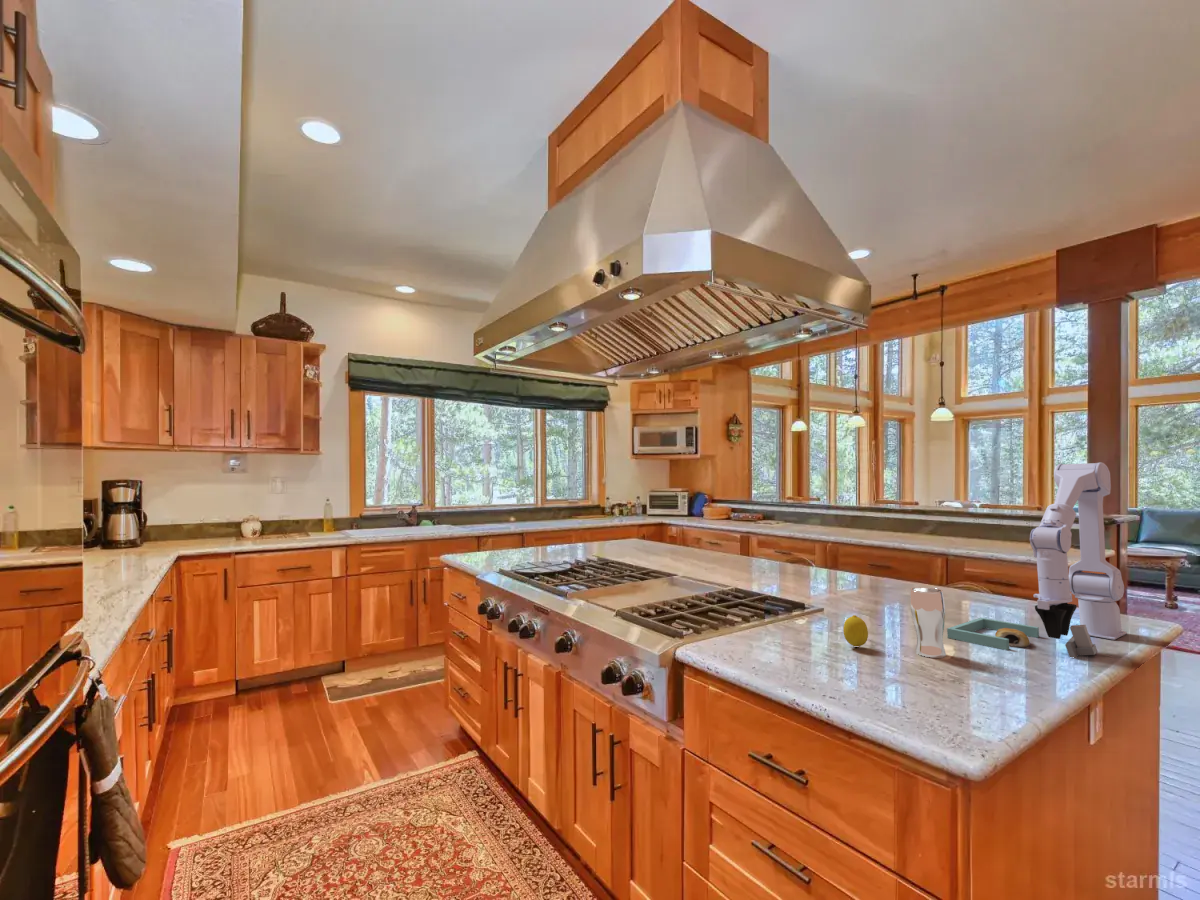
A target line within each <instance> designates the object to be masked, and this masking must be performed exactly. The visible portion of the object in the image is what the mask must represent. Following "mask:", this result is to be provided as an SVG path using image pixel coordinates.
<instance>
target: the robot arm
mask: <svg viewBox="0 0 1200 900" xmlns="http://www.w3.org/2000/svg"><path fill="white" fill-rule="evenodd" d="M1053 477H1054V478H1053V479H1054V482H1055V484H1056V486H1057V491H1056V496H1055V499H1054V503H1051V504H1049V505H1048V506H1047V507H1046V509H1045V511H1044V514H1043V516H1042V517H1041V518H1042V519H1041V521H1040V523H1039V526H1037V527H1034V528H1032V529H1031V531H1030V534H1029V542H1030V543H1029V544H1030V546H1031V548H1032V555H1033V557H1034V558H1036V559H1035V560H1036V569H1037V580H1038V581H1037V582H1038V593H1034V594H1033V598H1036V599H1037V600H1036V605H1034V610H1035V611H1036V613H1037V614H1038V615H1039V618H1040V619H1041V621H1042V624H1043V626H1044V629H1045V632H1046V634H1047V636H1048V638H1051V639H1057V640H1060V639H1061V636H1068V634H1069V631H1070V630H1069V629H1070V627H1071V626H1070V625H1071V621H1072V617H1073V615H1074V613H1075V612H1076V610H1077V607H1078V611H1079V612H1078V613H1079V615H1078V616H1079V625H1086V628H1087V630H1088V633H1089V636H1090V637H1096V638H1102V639H1107V640H1117V639H1119V638H1121V637H1122V636H1123V637H1124V636H1125V635H1127V634H1128V633H1127V631H1125V630H1122V623H1121V622H1122V621H1121V609H1120V607H1119V605H1118V603H1117V601H1120V600H1121V599H1122V598H1123V596H1124V594H1125V585H1124V581H1123V577H1122V572H1121V570H1120V569H1119V568H1118V567H1116V566H1115V565H1113V564H1112V563H1110V562H1108V561H1107V560H1106V545H1105V544H1106V543H1105V541H1106V540H1105V525H1104V524H1105V523H1104V507H1103V506H1104V497H1106V496H1108V495H1110V494H1111V490H1112V485H1111V483H1112V482H1111V481H1112V480H1111V472H1110V470H1109V467H1108V465H1106V464H1105V463H1104V462H1101V461H1100V462H1095V463H1094V462H1092V463H1068V464H1067V463H1066V464H1063V463H1058V464H1057V465H1056V466H1055V468H1054V470H1053ZM1076 503H1077V504H1078V505H1077V508H1078V531H1079V532H1078V533H1079V552H1080V555H1079V556H1080V560H1078V561H1077V562H1074V563H1073V564H1071V565H1070V566H1069V565H1068V552H1069V551H1070V549H1071V547H1072V536H1073V534H1072V531H1071V530H1072V527H1073V525H1074V522H1075V519H1076V517H1077V513H1076V511H1075V509H1073V508H1074V507H1075V505H1076ZM1085 571H1086V572H1085ZM1073 596H1074V598H1076V599H1077V600H1078V606H1077V604H1074V603H1072V602H1073Z"/></svg>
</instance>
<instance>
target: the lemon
mask: <svg viewBox="0 0 1200 900" xmlns="http://www.w3.org/2000/svg"><path fill="white" fill-rule="evenodd" d="M842 631H843V636H844V639H845V641H846V642H847V643H848V644H849V645H851V646H853V647H854V646H859V647H861V646H863V645H865V644H866V642H867V641H868V637H869V631H868V627H867V623H866V622H865V620H864V619H862V618H861V617H858V616H857V615H856V614H853V615H852V616H850V617H848V618H846V620H845V621H844V623H843V629H842Z"/></svg>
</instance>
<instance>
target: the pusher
mask: <svg viewBox="0 0 1200 900" xmlns="http://www.w3.org/2000/svg"><path fill="white" fill-rule="evenodd" d="M1069 629H1070V631H1071V634H1072V636H1071V637H1070V638H1069V640H1068V641H1067V642H1066V643H1065V645H1064V646H1065V648H1066V651H1067V653H1068V657H1069V658H1070V657H1074V658H1073V659H1077V657H1078V656H1095V655H1096V654H1097V653H1098V648H1097V646H1096V644H1095V643H1093V642H1092V638H1091V636H1089V633H1088V630H1087V628H1086V625H1080V624H1075V625H1073V624H1072V625H1071V626H1069ZM1077 655H1078V656H1077Z"/></svg>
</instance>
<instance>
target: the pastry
mask: <svg viewBox="0 0 1200 900" xmlns="http://www.w3.org/2000/svg"><path fill="white" fill-rule="evenodd" d="M994 636H996V637H1001V638H1006V639H1009V647H1016V648H1017V647H1018V648H1027V647H1029V645H1030V643H1031V642H1030V639H1029V636H1027V635H1025V633H1024V632H1022V631H1019V630H1016V629H1010V628H1003V629H998V630H996V632H995V635H994Z"/></svg>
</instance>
